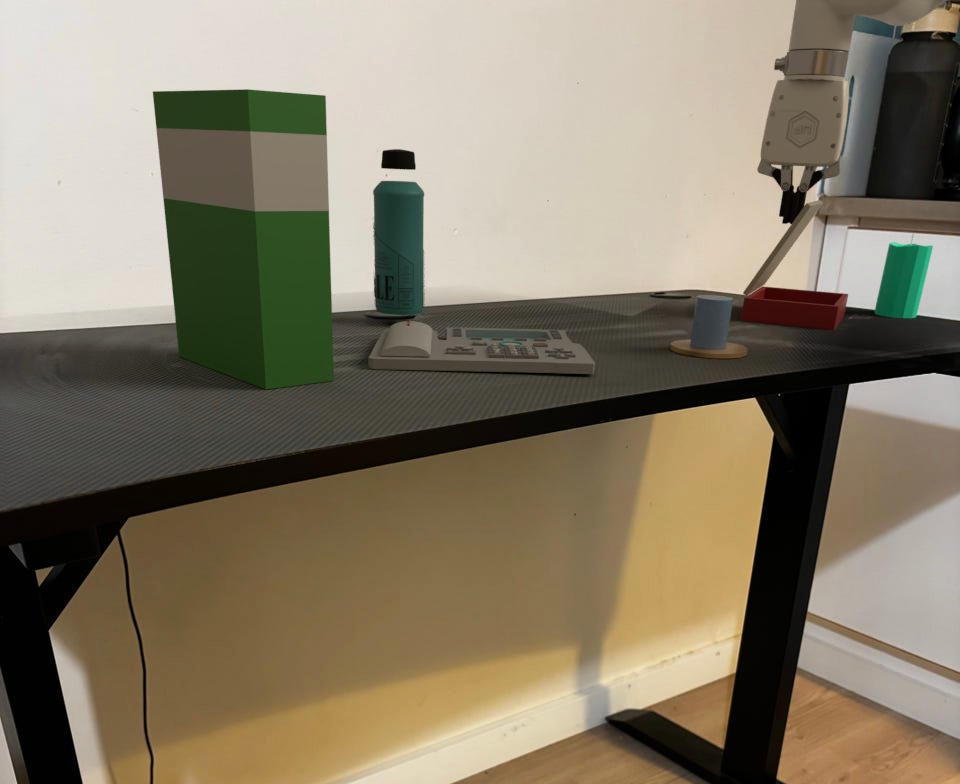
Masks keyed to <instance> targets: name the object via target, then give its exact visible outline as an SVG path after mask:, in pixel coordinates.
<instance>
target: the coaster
mask: <svg viewBox="0 0 960 784" xmlns="http://www.w3.org/2000/svg"><path fill="white" fill-rule="evenodd" d="M690 341H691V338H690V339H679V340H678V339H677V340H674V341H672V342H671V343H670V350H671V351H672V352H673V353H676V354H680V355H684V356H689V357H694V358H704V359H719V360H720V359H721V360H729V359H740V358H745V357H746V356H747V355H748V351H749V350H748V348H747V347H746V346H744V345H741V344H739V343H734V342H729V341H727V343H726V348H724V349H702V348H697V347H693V346H691V345H690Z"/></svg>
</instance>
